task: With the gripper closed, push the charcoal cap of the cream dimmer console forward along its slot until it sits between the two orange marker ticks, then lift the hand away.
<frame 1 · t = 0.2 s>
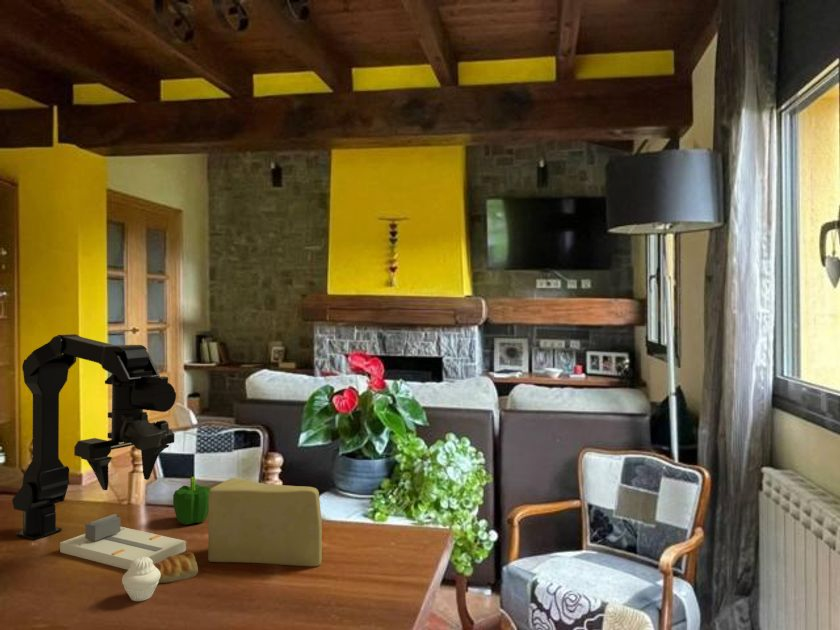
hand: (126, 484, 128), 14 cm above the table, tool pointing down, fingers open, 9 cm apart
cheese: (268, 560, 127), on the table
fader cap: (103, 526, 133), point 4 cm above the table, slide at 0.0 cm
muffin: (141, 598, 110), on the table
dimmer console: (123, 551, 130), on the table
bell pepper: (192, 522, 149), on the table
pastry: (173, 578, 119), on the table
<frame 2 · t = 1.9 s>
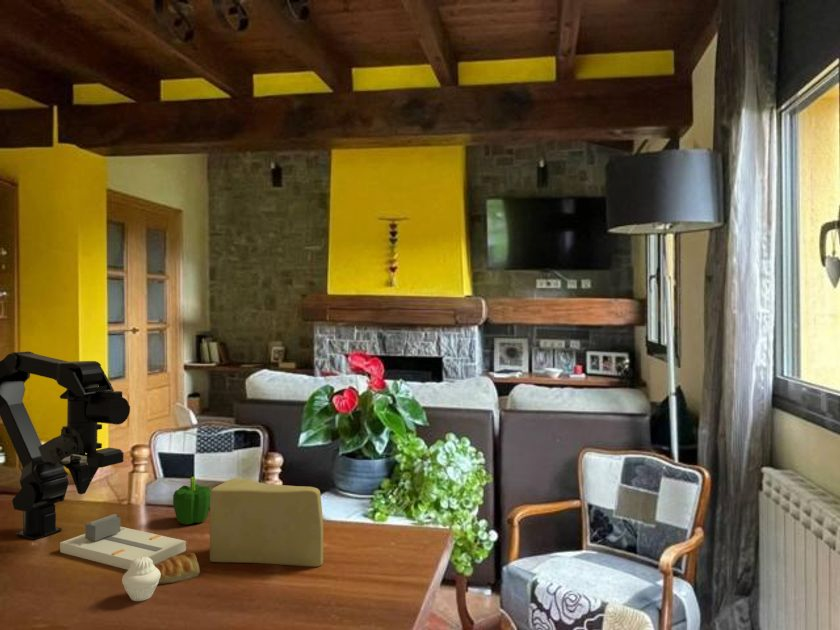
hand: (81, 493, 135), 10 cm above the table, tool pointing down, fingers closed
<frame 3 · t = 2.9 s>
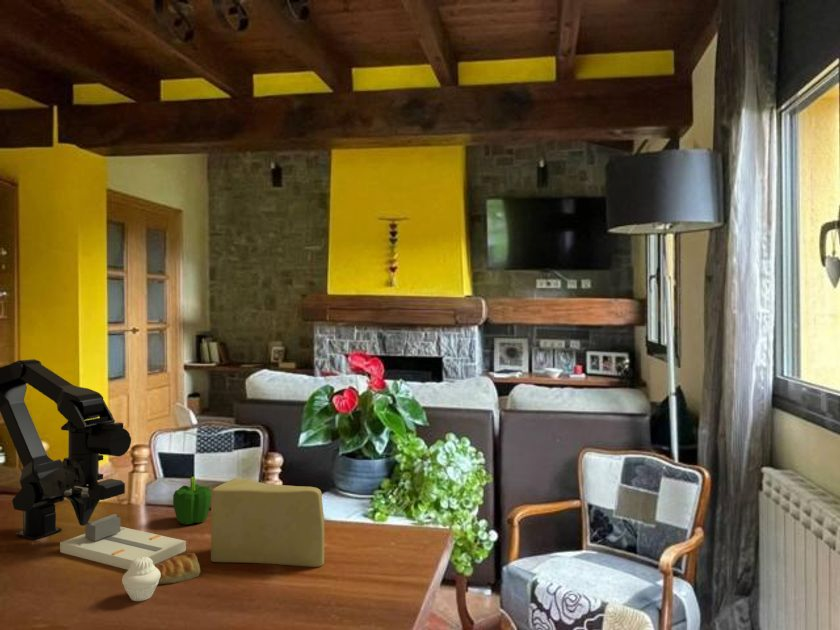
hand: (83, 525, 135), 4 cm above the table, tool pointing down, fingers closed
nothing on the table moved.
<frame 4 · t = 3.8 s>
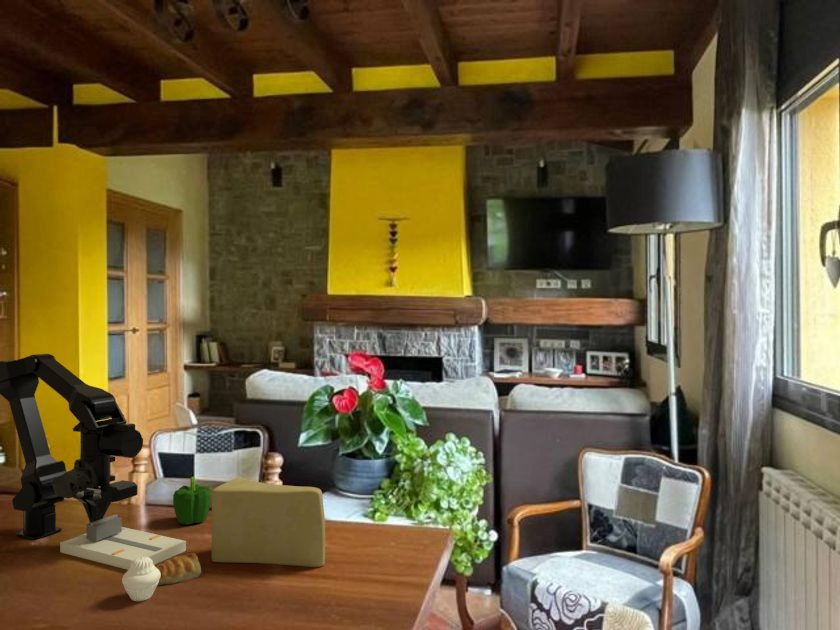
hand: (95, 527, 134), 4 cm above the table, tool pointing down, fingers closed
fader cap: (104, 526, 132), point 4 cm above the table, slide at 0.4 cm, touching gripper
everything else where it was.
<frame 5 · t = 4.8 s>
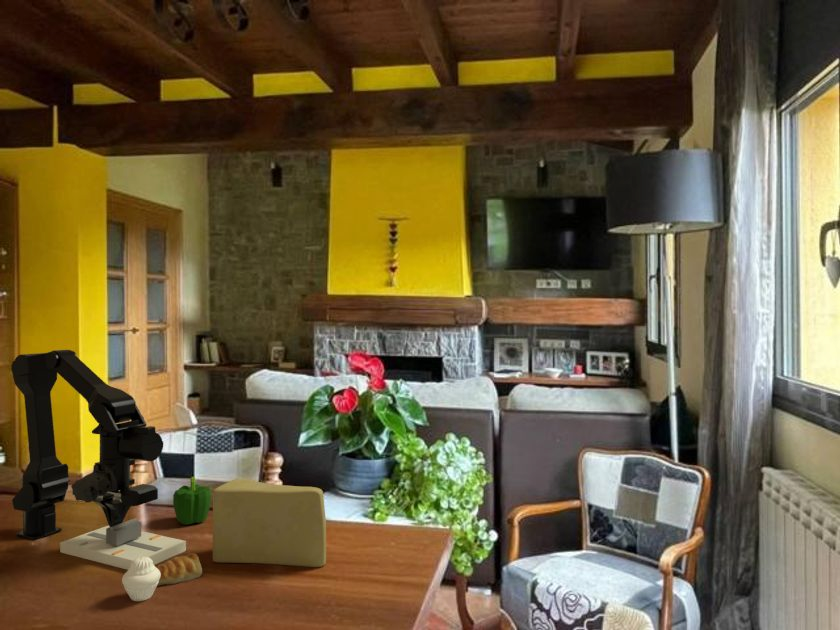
hand: (114, 531, 131), 4 cm above the table, tool pointing down, fingers closed
fader cap: (124, 531, 130), point 4 cm above the table, slide at 6.2 cm, touching gripper
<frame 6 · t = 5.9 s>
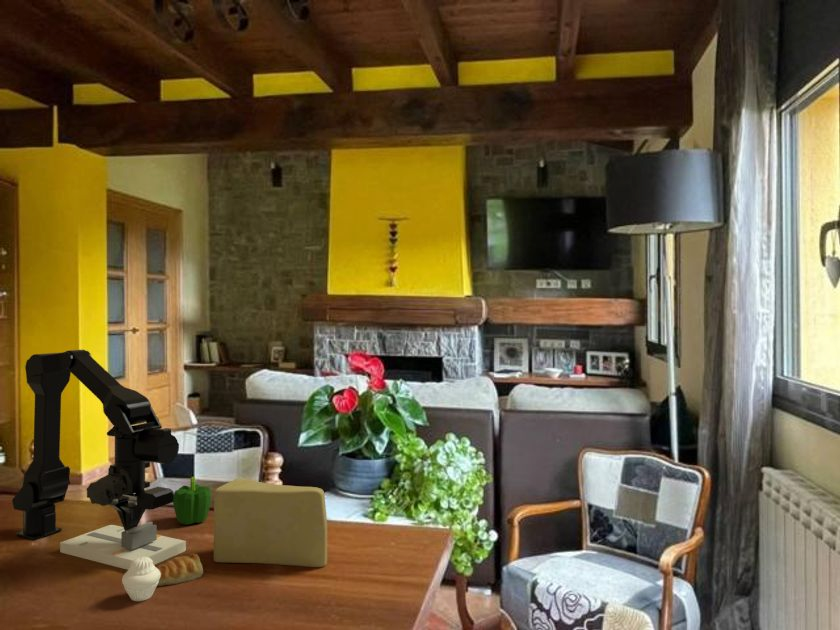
hand: (129, 535, 129), 4 cm above the table, tool pointing down, fingers closed
fader cap: (139, 534, 128), point 4 cm above the table, slide at 10.5 cm, touching gripper
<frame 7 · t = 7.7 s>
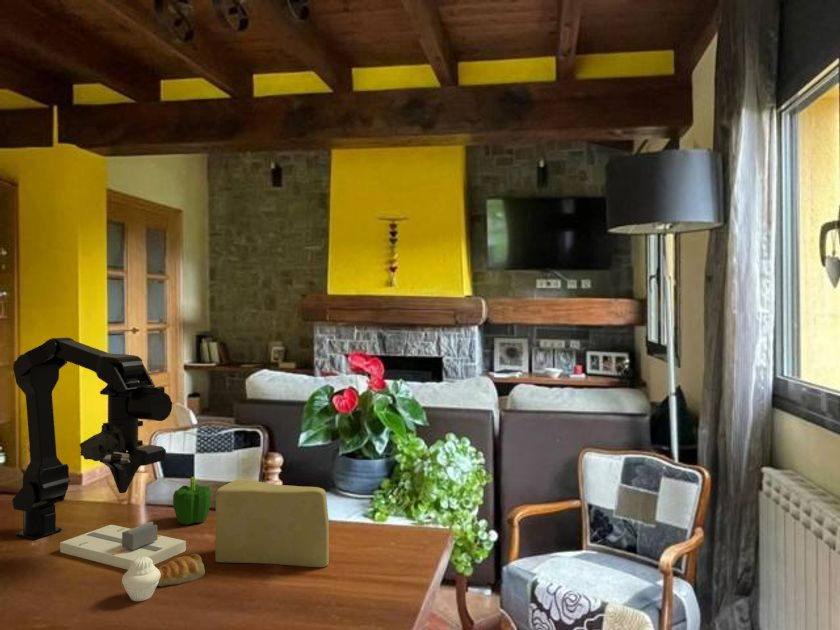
hand: (122, 492, 131), 12 cm above the table, tool pointing down, fingers closed
fader cap: (140, 534, 128), point 4 cm above the table, slide at 10.7 cm
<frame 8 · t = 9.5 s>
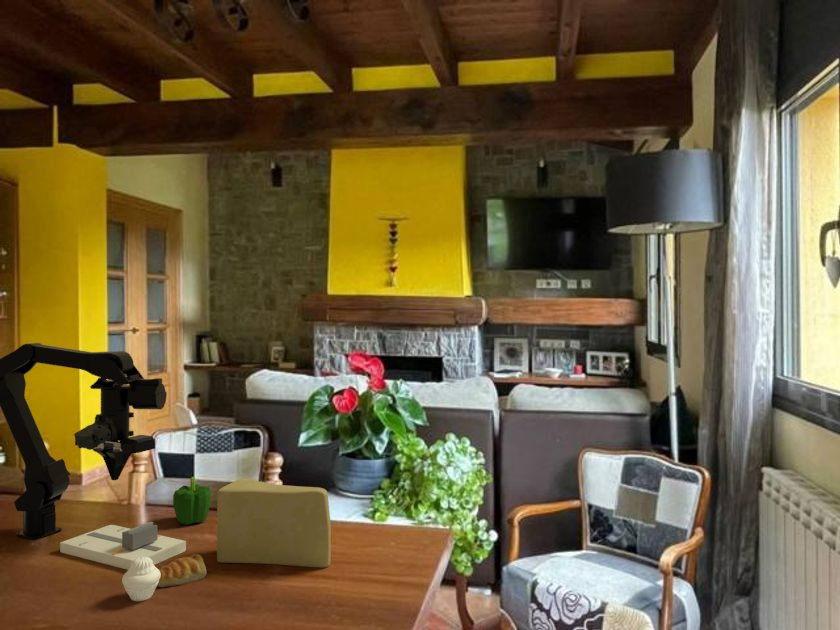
hand: (114, 479, 140), 12 cm above the table, tool pointing down, fingers closed
at the end: fader cap slide at 10.7 cm; pastry moved 2.4 cm from its start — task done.
